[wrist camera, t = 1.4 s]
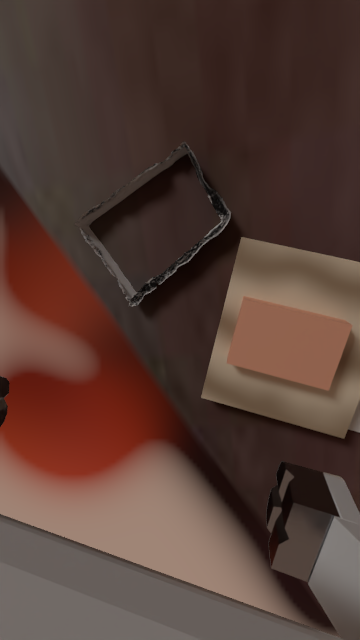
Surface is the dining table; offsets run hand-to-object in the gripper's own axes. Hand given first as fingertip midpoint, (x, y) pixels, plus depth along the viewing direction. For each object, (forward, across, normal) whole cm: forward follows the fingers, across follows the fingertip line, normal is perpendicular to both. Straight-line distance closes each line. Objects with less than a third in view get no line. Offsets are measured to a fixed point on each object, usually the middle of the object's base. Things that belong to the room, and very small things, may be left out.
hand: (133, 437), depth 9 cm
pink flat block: (+22, -7, +1) cm, 23 cm away
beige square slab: (+24, -8, +1) cm, 26 cm away
